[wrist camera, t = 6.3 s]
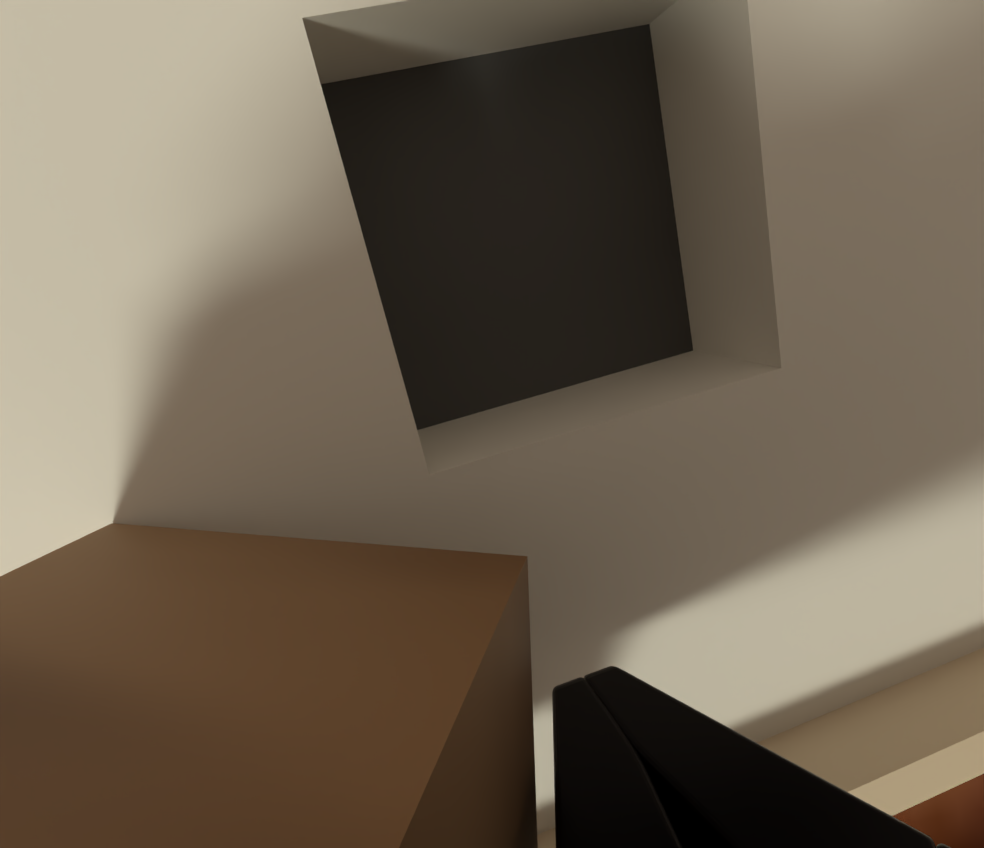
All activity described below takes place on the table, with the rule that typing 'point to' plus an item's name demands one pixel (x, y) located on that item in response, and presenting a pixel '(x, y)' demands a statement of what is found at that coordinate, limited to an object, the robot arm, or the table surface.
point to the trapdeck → (535, 327)
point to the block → (265, 695)
